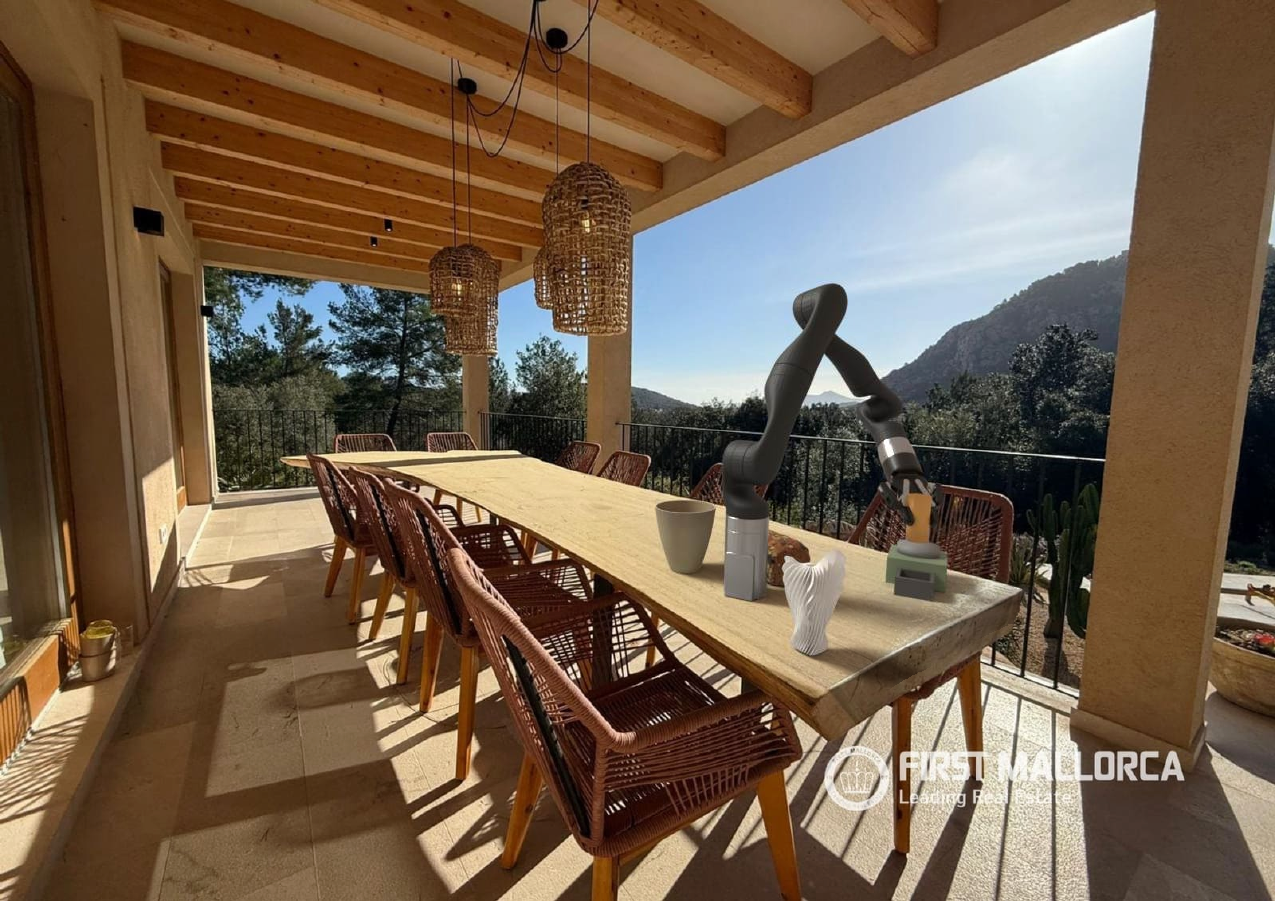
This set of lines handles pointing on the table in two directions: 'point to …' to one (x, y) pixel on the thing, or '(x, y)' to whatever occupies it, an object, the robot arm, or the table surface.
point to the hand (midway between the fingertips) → (923, 524)
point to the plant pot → (685, 532)
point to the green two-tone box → (916, 569)
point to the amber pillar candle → (919, 518)
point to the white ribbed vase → (813, 598)
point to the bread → (783, 555)
